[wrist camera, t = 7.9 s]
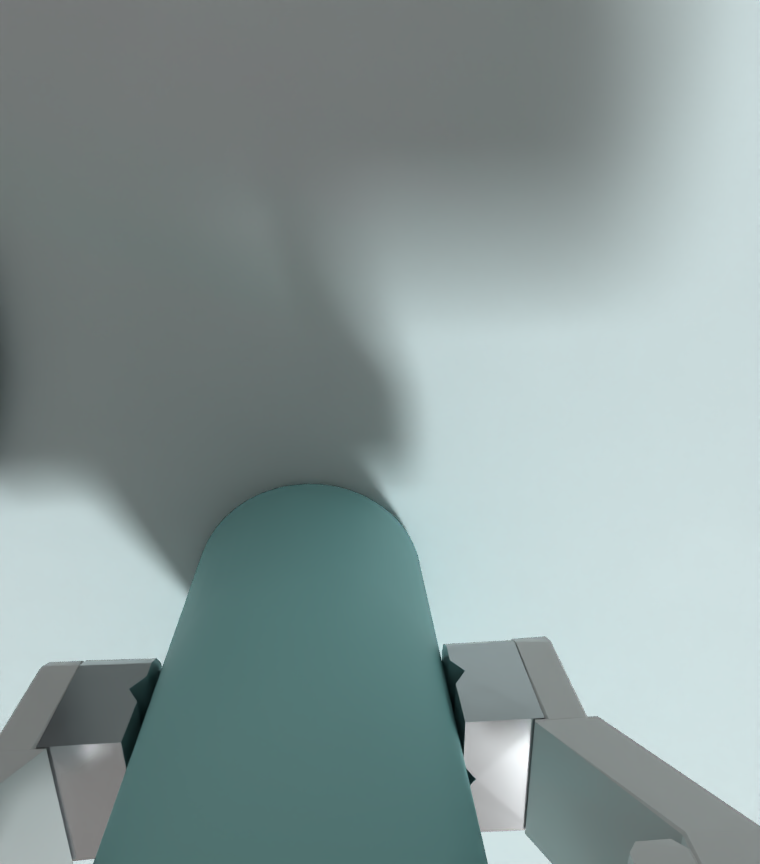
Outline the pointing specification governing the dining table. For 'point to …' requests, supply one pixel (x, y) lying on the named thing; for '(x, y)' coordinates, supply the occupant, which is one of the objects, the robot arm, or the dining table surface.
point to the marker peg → (300, 703)
